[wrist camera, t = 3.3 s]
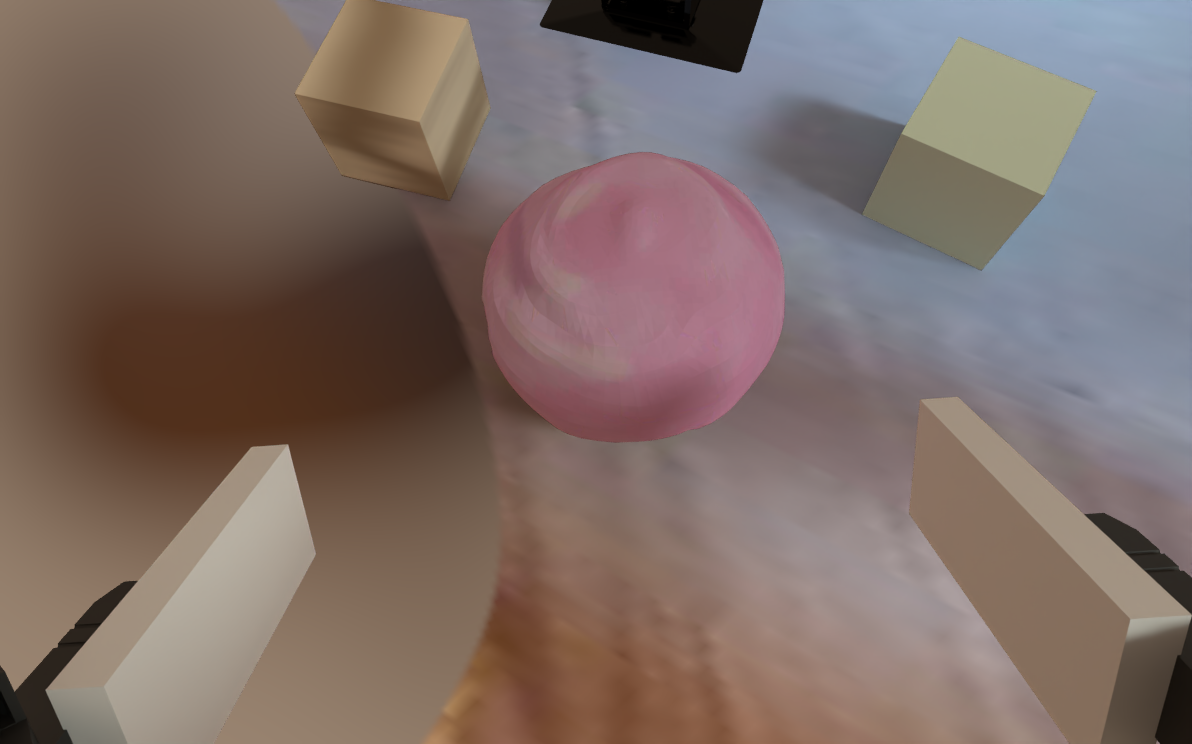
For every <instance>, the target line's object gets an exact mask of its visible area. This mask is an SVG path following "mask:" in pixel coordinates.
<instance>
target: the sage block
mask: <svg viewBox="0 0 1192 744" xmlns="http://www.w3.org/2000/svg"><path fill="white" fill-rule="evenodd" d="M1095 93H1096V91H1095V90H1092V89H1090V88H1087V87H1085V86H1082V85H1079V84H1077V83H1074V82H1072V81H1069V80H1067V79H1064V78H1062V77H1059V76H1057V75H1054V74H1052V73H1049V72H1047V71H1044V70H1042V69H1039V68H1037V67H1034V66H1031V65H1029V64H1026V63H1024V62H1021V61H1019V60H1016V59H1014V58H1011V57H1009V56H1006V55H1004V54H1001V53H999V52H996V51H994V50H991V49H988V48H986V47H983V46H981V45H978V44H976V43H973V42H971V41H968V40H966V39H963V38H961V37H958V39H957V40H956V42H955V44H954V46H953V47H952V49H951V51H950V52H949V54H948V56H947V57H946V59H945V61H944V62H943V64H942V66H941V67H940V69H939V71H938V72H937V74H936V76H935V78H934V79H933V81H932V83H931V84H930V86H929V88H928V89H927V91H926V93H925V94H924V96H923V98H922V99H921V101H920V103H919V104H918V106H917V108H916V109H915V111H914V113H913V115H912V116H911V118H910V120H909V121H908V123H907V125H906V126H905V128H904V130H903V131H902V133H901V135H900V137H899V139H898V141H897V143H896V145H895V147H894V149H893V151H892V154H891V156H890V158H889V160H888V162H887V164H886V166H885V168H884V170H883V172H882V174H881V176H880V178H879V180H878V182H877V184H876V186H875V188H874V191H873V193H872V195H871V197H870V199H869V201H868V203H867V205H866V207H865V209H864V211H863V213H862V215H863V216H866V217H868V218H870V219H872V220H874V221H876V222H878V223H881V224H883V225H885V226H887V227H889V228H891V229H893V230H896V231H898V232H900V233H902V234H904V235H906V236H908V237H911V238H913V239H915V240H917V241H919V242H921V243H923V244H926V245H928V246H930V247H932V248H934V249H936V250H939V251H941V252H943V253H945V254H947V255H949V256H951V257H954V258H956V259H958V260H960V261H962V262H964V263H966V264H969V265H971V266H973V267H975V268H977V269H979V270H982V269H983V268H984V267H985V266H986V265H987V263H988V262H989V261H990V260H991V259H992V257H993V256H994V255H995V254H996V253H997V251H998V250H999V249H1000V248H1001V247H1002V246H1003V244H1004V243H1005V242H1006V241H1007V240H1008V238H1009V237H1010V236H1011V235H1012V234H1013V232H1014V231H1015V230H1016V229H1017V228H1018V227H1019V225H1020V224H1021V223H1022V222H1023V221H1024V219H1025V218H1026V217H1027V216H1028V215H1029V213H1030V212H1031V211H1032V210H1033V209H1034V207H1035V206H1036V205H1037V204H1038V203H1039V202H1040V200H1041V199H1042V198H1043V197H1044V195H1045V193H1046V191H1047V189H1048V187H1049V185H1050V183H1051V181H1052V179H1053V177H1054V175H1055V173H1056V171H1057V169H1058V167H1059V165H1060V163H1061V161H1062V159H1063V157H1064V155H1065V153H1066V151H1067V149H1068V147H1069V145H1070V143H1071V141H1072V139H1073V137H1074V135H1075V133H1076V131H1077V129H1078V127H1079V125H1080V123H1081V121H1082V119H1083V117H1084V115H1085V113H1086V111H1087V109H1088V107H1089V105H1090V103H1091V101H1092V99H1093V97H1094V95H1095Z"/></svg>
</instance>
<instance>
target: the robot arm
mask: <svg viewBox="0 0 1192 744" xmlns="http://www.w3.org/2000/svg"><path fill="white" fill-rule="evenodd" d="M909 514H910V516H911V517H912V518H913V520H914V521H915V523H916V524H917V526H918V527H919V528H920V530H921V531H922V533H923V534H924V536H925V537H926V539H927V540H928V541H929V543H930V544H931V546H932V547H933V549H934V550H935V551H936V553H937V554H938V556H939V557H940V559H941V560H942V561H943V563H944V564H945V566H946V567H947V569H948V570H949V571H950V573H951V574H952V576H953V577H954V579H955V580H956V582H957V583H958V584H959V586H960V587H961V589H962V590H963V592H964V593H965V594H966V596H967V597H968V599H969V600H970V602H971V603H972V604H973V606H974V607H975V609H976V610H977V612H978V613H979V614H980V616H981V617H982V619H983V620H984V622H985V623H986V625H987V626H988V627H989V629H990V630H991V632H992V633H993V635H994V636H995V637H996V639H997V640H998V642H999V643H1000V645H1001V646H1002V647H1003V649H1004V650H1005V652H1006V653H1007V655H1008V656H1009V658H1010V659H1011V660H1012V662H1013V663H1014V665H1015V666H1016V668H1017V669H1018V670H1019V672H1020V673H1021V675H1022V676H1023V678H1024V679H1025V680H1026V682H1027V683H1028V685H1029V686H1030V688H1031V689H1032V690H1033V692H1034V693H1035V695H1036V696H1037V698H1038V699H1039V701H1040V702H1041V703H1042V705H1043V706H1044V708H1045V709H1046V711H1047V712H1048V713H1049V715H1050V716H1051V718H1052V719H1053V721H1054V722H1055V723H1056V725H1057V726H1058V728H1059V729H1060V731H1061V732H1062V733H1063V735H1064V736H1065V738H1066V739H1067V741H1068V742H1069V744H1156V742H1157V740H1158V742H1159V743H1160V744H1192V578H1191V577H1190V576H1189V575H1188V574H1187V573H1186V572H1185V571H1180V570H1179V566H1178V565H1176V564H1175V563H1174V562H1173V561H1172V560H1171V559H1170V558H1168V557H1167V556H1166V555H1165V554H1160V550H1159V549H1158V548H1157V547H1156V546H1155V545H1154V544H1152V543H1151V542H1150V541H1149V540H1148V539H1147V538H1145V537H1144V536H1143V535H1142V534H1141V533H1140V532H1139V531H1137V530H1136V529H1134V528H1132V527H1130V526H1128V525H1126V524H1124V523H1122V522H1121V521H1119V520H1117V519H1115V518H1113V517H1111V516H1109V515H1107V514H1105V513H1096V514H1083V513H1082V512H1081V511H1080V510H1079V509H1078V508H1076V507H1075V506H1074V505H1073V504H1072V503H1071V502H1070V501H1069V500H1068V499H1067V498H1066V497H1065V496H1064V495H1062V494H1061V493H1060V492H1059V491H1058V490H1057V489H1056V488H1055V487H1054V486H1053V485H1052V484H1051V483H1050V482H1049V481H1047V480H1046V479H1045V478H1044V477H1043V476H1042V475H1041V474H1040V473H1039V472H1038V471H1037V470H1036V469H1035V468H1033V467H1032V466H1031V465H1030V464H1029V463H1028V462H1027V461H1026V460H1025V459H1024V458H1023V457H1022V456H1021V455H1020V454H1018V453H1017V452H1016V451H1015V450H1014V449H1013V448H1012V447H1011V446H1010V445H1009V444H1008V443H1007V442H1006V441H1004V440H1003V439H1002V438H1001V437H1000V436H999V435H998V434H997V433H996V432H995V431H994V430H993V429H992V428H991V427H989V426H988V425H987V424H986V423H985V422H984V421H983V420H982V419H981V418H980V417H979V416H978V415H977V414H975V413H974V412H973V411H972V410H971V409H970V408H969V407H968V406H967V405H966V404H965V403H964V402H963V401H962V400H960V399H959V398H958V397H949V398H935V399H921V400H920V406H919V416H918V427H917V437H916V447H915V458H914V468H913V478H912V489H911V499H910V509H909ZM315 555H316V552H315V548H314V544H313V540H312V536H311V533H310V528H309V525H308V521H307V517H306V513H305V509H304V506H303V501H302V497H301V493H300V489H299V486H298V482H297V478H296V474H295V470H294V466H293V462H292V459H291V454H290V450H289V447H288V444H287V445H273V446H259V447H251V448H250V450H249V451H248V452H247V453H246V454H245V456H244V457H243V458H242V459H241V460H240V461H239V463H238V464H237V465H236V466H235V467H234V468H233V470H232V471H231V472H230V473H229V474H228V475H227V477H226V478H225V479H224V480H223V482H222V483H221V484H220V485H219V486H218V487H217V488H216V490H215V491H214V492H213V493H212V494H211V496H210V497H209V498H208V499H207V500H206V501H205V503H204V504H203V505H202V506H201V507H200V509H199V510H198V511H197V512H196V513H195V514H194V516H193V517H192V518H191V519H190V520H189V522H188V523H187V524H186V525H185V526H184V527H183V529H182V530H181V531H180V532H179V533H178V534H177V536H176V537H175V538H174V539H173V540H172V542H171V543H170V544H169V545H168V546H167V548H166V549H165V550H164V551H163V552H162V553H161V555H160V556H159V557H158V558H157V559H156V561H155V562H154V563H153V564H152V565H151V566H150V568H149V569H148V570H147V571H146V572H145V574H144V575H143V576H142V577H141V578H140V579H139V580H138V581H128V582H123V583H122V584H120V585H119V586H117V587H116V588H114V589H113V590H111V591H110V592H109V593H107V594H106V595H104V596H103V597H102V598H100V599H99V600H97V601H96V602H95V603H94V604H93V605H92V606H91V607H90V608H89V609H88V610H87V611H86V613H85V614H84V615H83V616H82V617H81V618H80V619H79V620H78V622H77V623H76V624H75V628H74V629H70V631H69V632H68V633H67V634H66V635H65V636H64V637H63V638H62V639H61V641H60V642H59V643H58V647H57V648H53V649H52V651H51V652H50V653H49V654H48V655H47V656H46V657H45V658H44V660H43V661H42V662H41V663H40V664H39V665H38V666H37V667H36V669H35V670H34V671H33V672H32V673H31V674H30V675H29V676H28V677H27V679H26V680H25V681H24V682H23V683H22V684H21V685H20V686H19V688H18V689H17V690H16V691H15V692H14V690H13V688H12V686H11V684H10V681H9V679H8V677H7V675H6V673H5V671H4V670H3V669H2V668H1V666H0V744H214V743H215V741H216V739H217V737H218V735H219V733H220V731H221V730H222V728H223V726H224V724H225V722H226V720H227V719H228V717H229V715H230V713H231V711H232V709H233V707H234V706H235V704H236V702H237V700H238V698H239V696H240V694H241V693H242V691H243V689H244V687H245V685H246V683H247V681H248V680H249V678H250V676H251V674H252V672H253V670H254V668H255V666H256V665H257V663H258V661H259V659H260V657H261V655H262V653H263V651H264V650H265V648H266V646H267V644H268V642H269V641H270V639H271V636H272V635H273V633H274V631H275V629H276V628H277V626H278V624H279V622H280V620H281V618H282V616H283V615H284V612H285V611H286V609H287V607H288V605H289V603H290V601H291V600H292V598H293V596H294V594H295V592H296V590H297V588H298V586H299V585H300V583H301V581H302V579H303V577H304V575H305V574H306V572H307V570H308V568H309V566H310V564H311V563H312V561H313V559H314V557H315Z"/></svg>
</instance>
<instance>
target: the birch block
mask: <svg viewBox="0 0 1192 744" xmlns="http://www.w3.org/2000/svg"><path fill="white" fill-rule="evenodd" d="M295 96H296V97H297V99H298V101H299V102H300V104H301V106H302V108H303V109H304V111H305V113H306V115H307V116H308V118H309V120H310V121H311V123H312V125H313V126H314V128H315V130H316V132H317V133H318V135H319V137H320V139H321V140H322V142H323V144H324V146H325V147H326V149H327V151H328V153H329V154H330V156H331V158H332V159H333V161H334V163H335V165H336V166H337V168H338V170H339V171H340V173H341V175H342V176H344V177H349V178H353V179H357V180H361V181H365V182H369V183H373V184H377V185H381V186H386V187H390V188H394V189H403V190H407V191H411V192H415V193H419V194H423V195H428V196H432V197H436V198H440V199H444V200H448V201H450V199H451V197H452V195H453V192H454V190H455V188H456V186H457V183H458V181H459V179H460V176H461V174H462V172H463V170H464V167H465V165H466V163H467V161H468V158H469V156H470V154H471V151H472V149H473V147H474V145H475V142H476V140H477V138H478V136H479V133H480V131H481V129H482V126H483V124H484V122H485V120H486V117H487V115H488V113H489V111H490V104H489V100H488V96H487V92H486V88H485V84H484V80H483V76H482V72H481V68H480V64H479V60H478V56H477V52H476V48H475V45H474V41H473V37H472V33H471V29H470V25H469V21H468V19H465V18H460V17H455V16H450V15H445V14H440V13H435V12H430V11H425V10H420V9H415V8H410V7H405V6H400V5H395V4H390V3H385V2H380V1H375V0H346V2H345V3H344V5H343V7H342V9H341V11H340V12H339V14H338V16H337V18H336V20H335V21H334V23H333V25H332V27H331V29H330V30H329V32H328V34H327V36H326V38H325V39H324V41H323V43H322V45H321V47H320V48H319V50H318V52H317V54H316V56H315V57H314V59H313V61H312V63H311V65H310V67H309V68H308V70H307V72H306V74H305V75H304V77H303V79H302V81H301V83H300V84H299V86H298V88H297V90H296V92H295Z"/></svg>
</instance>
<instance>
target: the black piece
mask: <svg viewBox="0 0 1192 744" xmlns="http://www.w3.org/2000/svg"><path fill="white" fill-rule="evenodd" d="M762 3H763V0H552V1H551V3H550V5H549V7H548V9H547V11H546V13H545V15H544V17H543V19H542V21H541V23H540V26H541V27H543V28H548V29H552V30H556V31H560V32H565V33H569V34H573V35H577V36H582V37H586V38H590V39H594V40H599V41H603V42H607V43H611V44H616V45H620V46H624V47H628V48H633V49H637V50H641V51H645V52H650V53H654V54H658V55H662V56H667V57H671V58H675V59H679V60H684V61H688V62H692V63H696V64H701V65H705V66H709V67H713V68H718V69H722V70H726V71H730V72H735V73H739V72H740V71H741V69H742V66H743V63H744V60H745V57H746V53H747V50H748V47H749V44H750V41H751V38H752V34H753V31H754V28H755V25H756V22H757V19H758V16H759V12H760V9H761V6H762Z"/></svg>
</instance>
